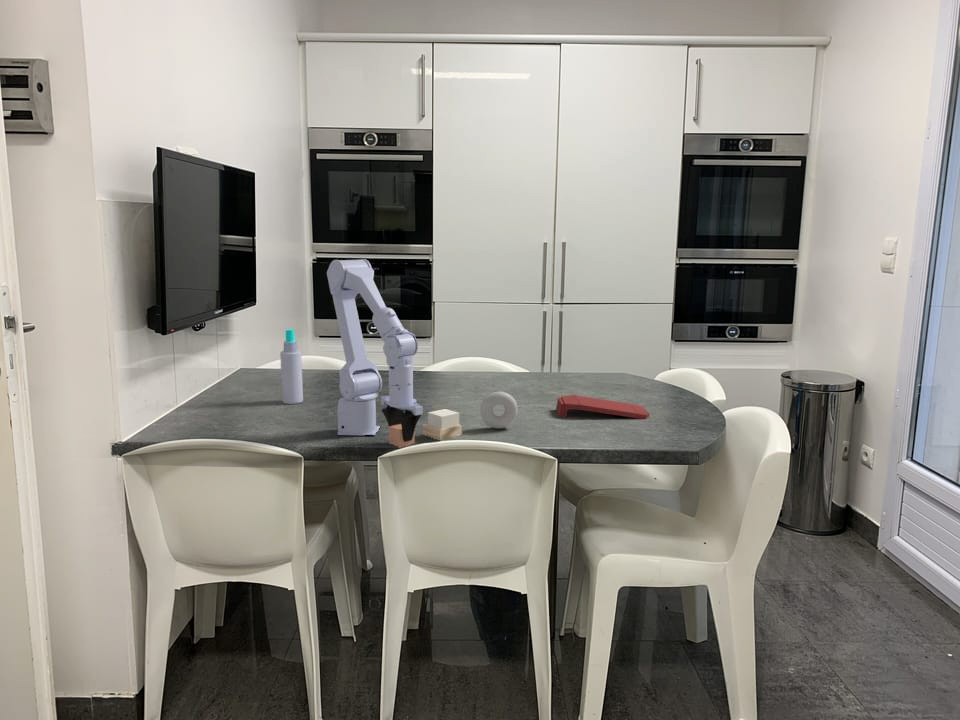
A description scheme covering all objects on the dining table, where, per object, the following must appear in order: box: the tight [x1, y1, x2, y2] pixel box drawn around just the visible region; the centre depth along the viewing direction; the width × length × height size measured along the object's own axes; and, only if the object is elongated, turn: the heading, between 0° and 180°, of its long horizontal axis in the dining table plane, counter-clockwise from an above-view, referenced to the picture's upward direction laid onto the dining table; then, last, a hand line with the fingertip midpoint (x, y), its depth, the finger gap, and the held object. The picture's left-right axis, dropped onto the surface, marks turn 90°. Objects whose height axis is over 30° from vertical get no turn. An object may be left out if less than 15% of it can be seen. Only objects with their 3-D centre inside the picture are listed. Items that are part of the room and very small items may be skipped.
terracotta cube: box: [388, 424, 415, 449], centre depth 177 cm, size 4×4×4 cm
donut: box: [479, 391, 519, 430], centre depth 191 cm, size 10×4×10 cm, turn 96°
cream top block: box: [427, 408, 460, 429], centre depth 184 cm, size 6×6×3 cm
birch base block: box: [422, 423, 463, 441], centre depth 185 cm, size 7×7×3 cm
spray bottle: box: [279, 328, 304, 405], centre depth 218 cm, size 6×6×22 cm
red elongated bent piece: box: [555, 394, 650, 420], centre depth 209 cm, size 12×5×25 cm
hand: (401, 438), depth 177 cm, fingers closed on terracotta cube, 4 cm apart
